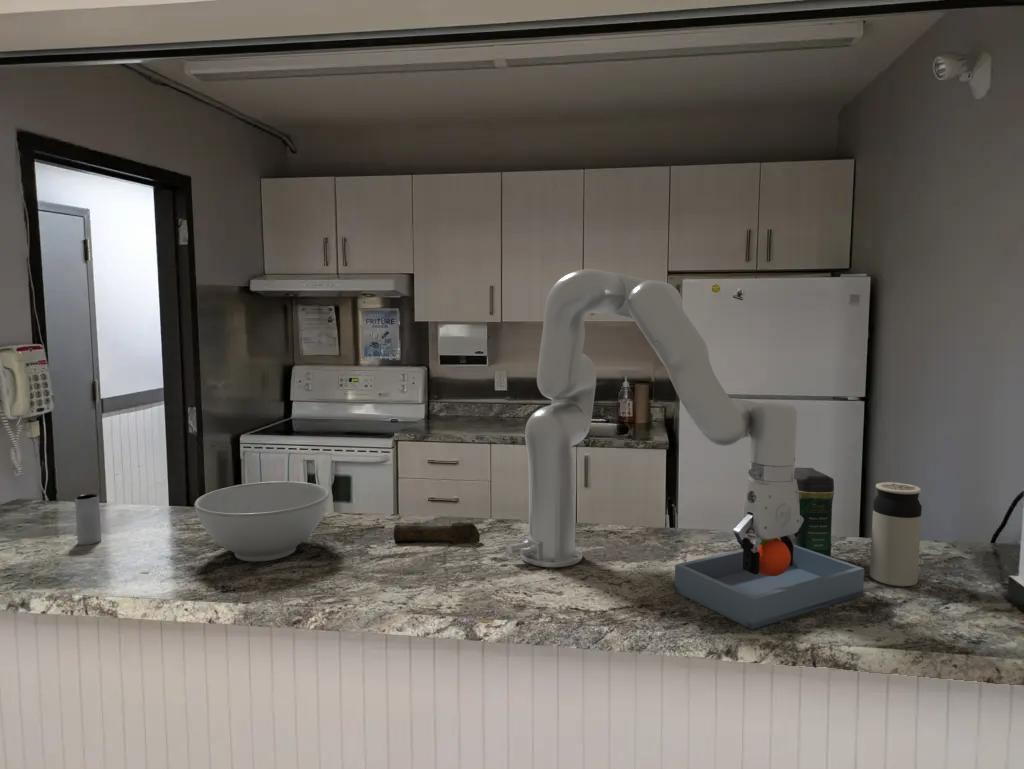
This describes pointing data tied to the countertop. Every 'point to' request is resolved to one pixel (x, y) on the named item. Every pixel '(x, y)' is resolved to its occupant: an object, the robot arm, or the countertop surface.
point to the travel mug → (896, 534)
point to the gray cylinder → (88, 519)
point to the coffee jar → (815, 510)
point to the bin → (768, 586)
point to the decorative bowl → (262, 517)
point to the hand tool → (438, 533)
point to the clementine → (773, 557)
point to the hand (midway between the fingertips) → (767, 567)
